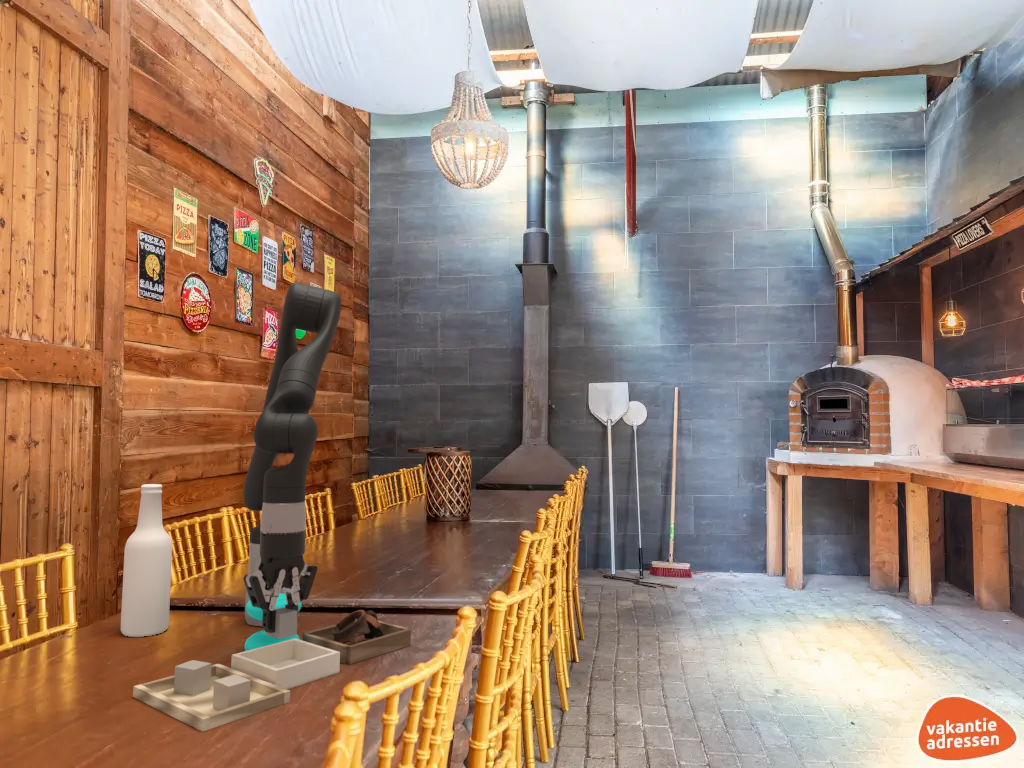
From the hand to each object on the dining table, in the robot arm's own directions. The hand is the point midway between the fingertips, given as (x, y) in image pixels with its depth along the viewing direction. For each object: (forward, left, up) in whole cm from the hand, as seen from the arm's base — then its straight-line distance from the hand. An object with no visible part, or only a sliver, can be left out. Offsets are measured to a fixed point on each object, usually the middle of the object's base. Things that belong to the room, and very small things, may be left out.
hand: (279, 628), depth 123 cm
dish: (+2, 0, -8) cm, 8 cm away
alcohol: (-43, -2, -8) cm, 44 cm away
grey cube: (0, 0, -1) cm, 1 cm away
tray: (+3, -14, -8) cm, 16 cm away
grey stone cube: (-2, -14, -7) cm, 16 cm away
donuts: (-12, +7, -8) cm, 16 cm away
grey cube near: (+9, -14, -7) cm, 18 cm away
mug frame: (-2, +19, -8) cm, 20 cm away
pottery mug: (-1, +19, -8) cm, 21 cm away
